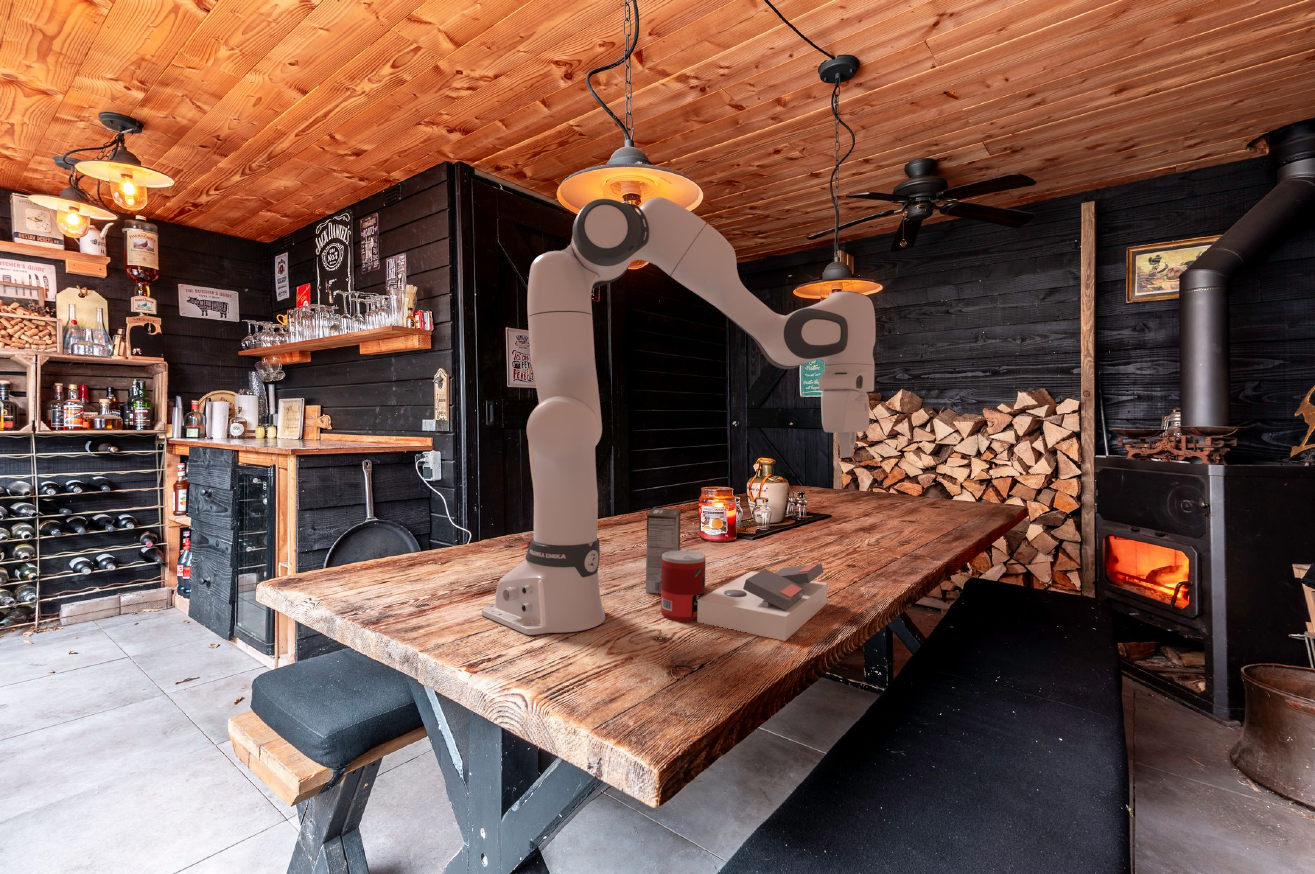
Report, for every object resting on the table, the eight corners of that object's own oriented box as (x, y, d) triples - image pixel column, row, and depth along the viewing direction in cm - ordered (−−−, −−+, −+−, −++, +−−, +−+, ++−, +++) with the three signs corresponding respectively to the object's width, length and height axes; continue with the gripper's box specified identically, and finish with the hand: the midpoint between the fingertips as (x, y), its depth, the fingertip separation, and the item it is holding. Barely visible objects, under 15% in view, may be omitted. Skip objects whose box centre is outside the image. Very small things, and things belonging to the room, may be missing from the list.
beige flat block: (697, 622, 106) (697, 593, 106) (750, 590, 127) (751, 566, 127) (785, 641, 98) (785, 610, 98) (826, 603, 119) (827, 578, 118)
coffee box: (651, 581, 132) (652, 507, 132) (680, 582, 132) (681, 508, 131) (644, 593, 123) (645, 514, 123) (675, 595, 123) (677, 515, 122)
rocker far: (768, 587, 114) (766, 576, 114) (784, 576, 121) (782, 567, 122) (809, 582, 110) (806, 572, 110) (823, 572, 117) (821, 562, 117)
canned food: (701, 623, 106) (702, 561, 105) (656, 619, 107) (657, 558, 107) (706, 610, 113) (708, 551, 113) (664, 606, 115) (665, 549, 114)
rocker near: (742, 588, 104) (746, 578, 104) (762, 577, 112) (765, 568, 112) (785, 610, 101) (788, 599, 100) (802, 597, 108) (805, 587, 108)
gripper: (845, 385, 122) (843, 453, 123) (815, 378, 105) (813, 458, 105) (878, 384, 119) (876, 455, 119) (852, 378, 101) (850, 460, 102)
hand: (846, 456), depth 112 cm, fingers closed
